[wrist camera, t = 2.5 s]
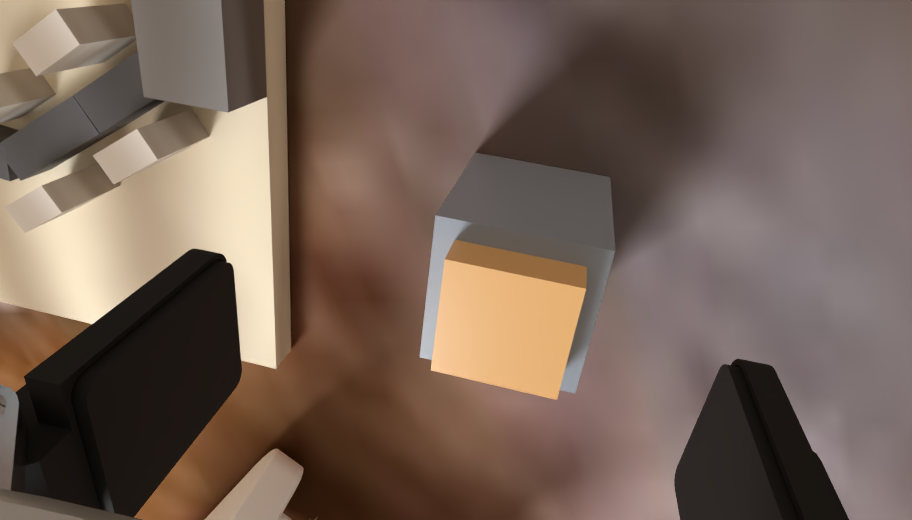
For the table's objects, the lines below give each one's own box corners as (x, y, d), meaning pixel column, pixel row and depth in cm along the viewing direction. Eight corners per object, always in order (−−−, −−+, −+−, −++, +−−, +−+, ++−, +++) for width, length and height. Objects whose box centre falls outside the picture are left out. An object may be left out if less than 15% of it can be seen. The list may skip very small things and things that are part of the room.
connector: (610, 176, 17) (617, 272, 12) (579, 293, 19) (573, 421, 14) (475, 152, 17) (423, 233, 12) (459, 268, 19) (408, 381, 14)
